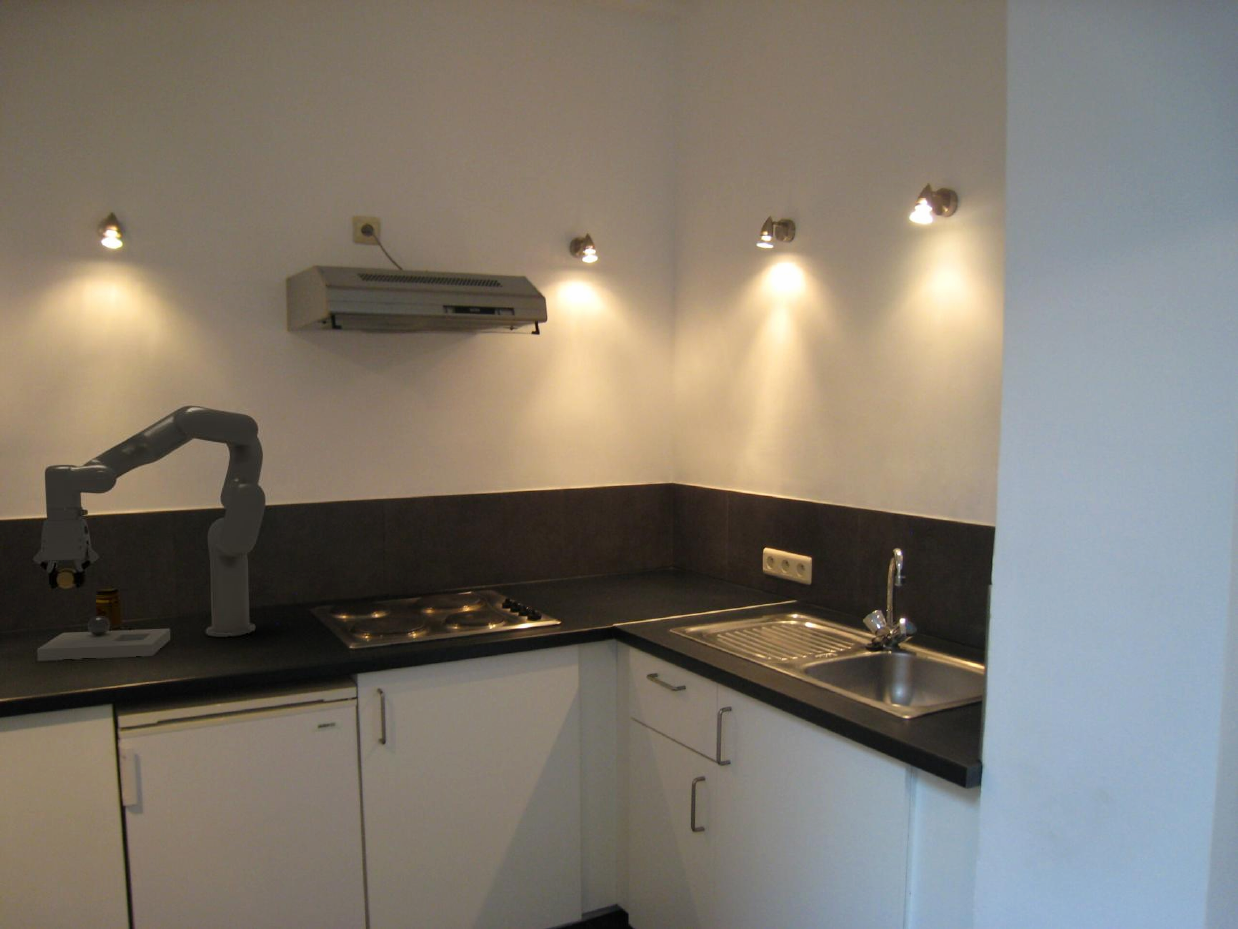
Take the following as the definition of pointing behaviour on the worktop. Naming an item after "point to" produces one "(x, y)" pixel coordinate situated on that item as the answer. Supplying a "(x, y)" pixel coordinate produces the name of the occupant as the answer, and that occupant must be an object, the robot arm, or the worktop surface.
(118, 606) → the condiment
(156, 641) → the hole plate
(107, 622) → the steel ball
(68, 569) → the brass ball
